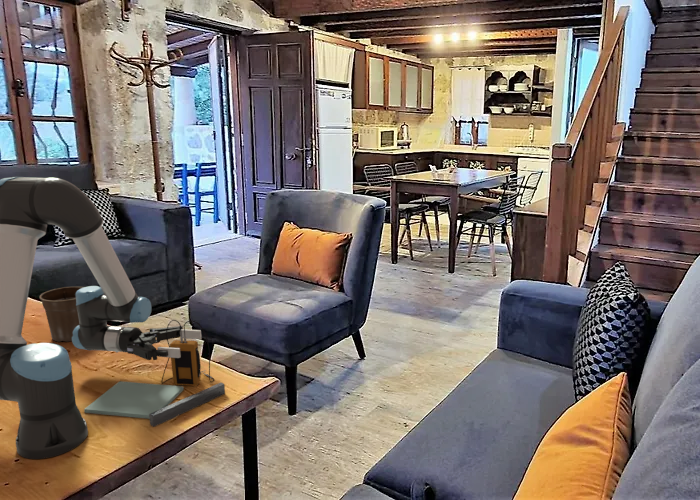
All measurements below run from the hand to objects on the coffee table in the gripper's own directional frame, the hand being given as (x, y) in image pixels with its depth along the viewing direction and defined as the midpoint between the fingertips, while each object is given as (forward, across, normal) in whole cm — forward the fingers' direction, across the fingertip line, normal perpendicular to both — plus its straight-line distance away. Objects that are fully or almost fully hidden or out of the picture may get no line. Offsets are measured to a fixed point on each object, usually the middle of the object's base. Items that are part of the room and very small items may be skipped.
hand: (190, 343), depth 160 cm
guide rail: (+7, +17, -11) cm, 21 cm away
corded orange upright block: (0, 0, -11) cm, 11 cm away
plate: (-10, +15, -11) cm, 21 cm away
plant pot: (-58, -24, -11) cm, 64 cm away
